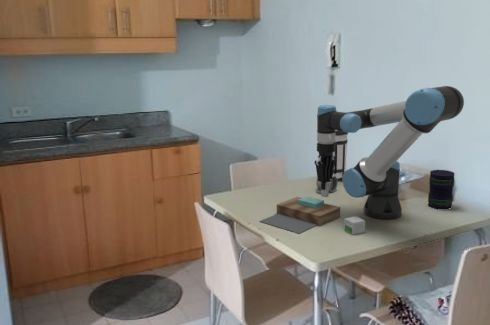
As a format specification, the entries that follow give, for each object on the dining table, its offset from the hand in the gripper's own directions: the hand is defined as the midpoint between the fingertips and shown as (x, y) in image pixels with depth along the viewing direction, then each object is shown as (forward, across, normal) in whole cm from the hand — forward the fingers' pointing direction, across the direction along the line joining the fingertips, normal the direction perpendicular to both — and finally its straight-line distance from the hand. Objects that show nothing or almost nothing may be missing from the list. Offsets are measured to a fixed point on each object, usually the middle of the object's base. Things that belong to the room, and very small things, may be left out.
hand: (324, 196), depth 218 cm
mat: (+5, +25, 0) cm, 26 cm away
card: (+1, +10, 0) cm, 10 cm away
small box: (+6, +15, +24) cm, 29 cm away
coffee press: (+6, -41, -22) cm, 47 cm away
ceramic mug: (+6, -21, -14) cm, 26 cm away
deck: (+5, +12, 0) cm, 13 cm away
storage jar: (+5, -34, +36) cm, 50 cm away
